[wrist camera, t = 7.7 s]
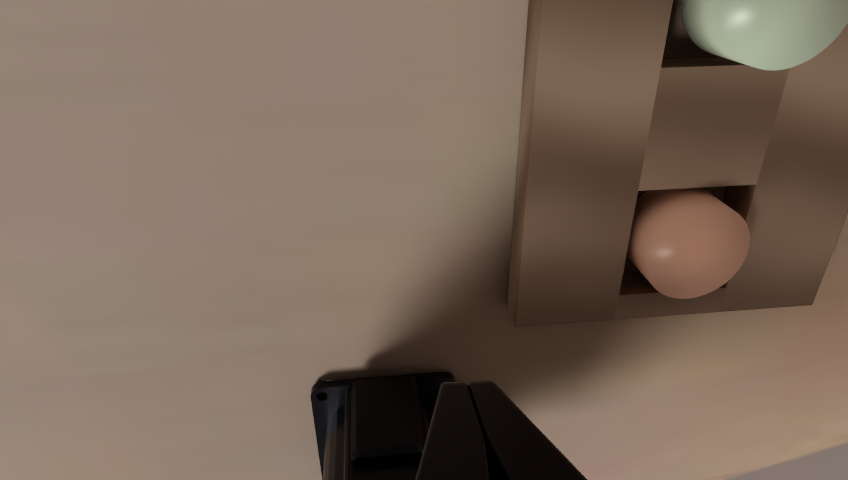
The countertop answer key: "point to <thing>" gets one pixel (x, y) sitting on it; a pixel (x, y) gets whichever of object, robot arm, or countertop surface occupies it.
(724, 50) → the sage button
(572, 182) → the button panel
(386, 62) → the countertop surface
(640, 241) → the terracotta button
